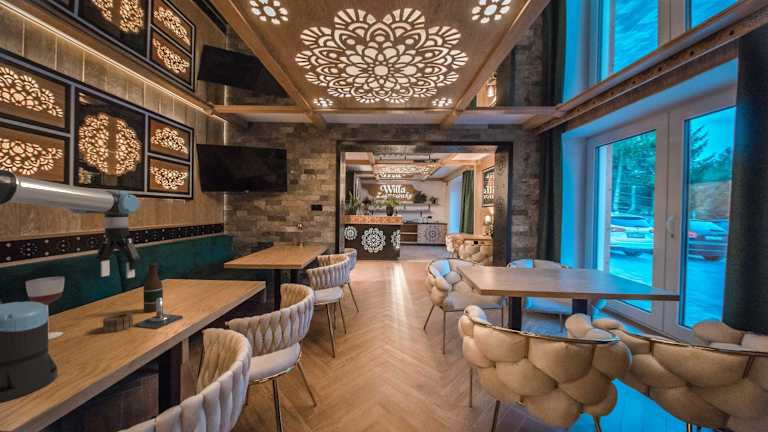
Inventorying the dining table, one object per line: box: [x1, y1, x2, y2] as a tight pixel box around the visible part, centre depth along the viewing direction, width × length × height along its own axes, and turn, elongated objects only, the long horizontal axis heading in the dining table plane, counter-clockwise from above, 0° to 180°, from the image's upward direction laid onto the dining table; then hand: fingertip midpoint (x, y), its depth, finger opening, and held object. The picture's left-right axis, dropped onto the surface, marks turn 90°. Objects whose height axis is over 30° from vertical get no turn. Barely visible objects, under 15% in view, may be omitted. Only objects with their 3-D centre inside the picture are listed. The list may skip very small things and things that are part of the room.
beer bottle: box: [143, 262, 164, 314], centre depth 143 cm, size 8×8×24 cm
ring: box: [102, 312, 134, 334], centre depth 121 cm, size 9×9×5 cm
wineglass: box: [25, 276, 66, 340], centre depth 113 cm, size 9×10×23 cm
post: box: [134, 297, 184, 330], centre depth 128 cm, size 12×12×11 cm
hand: (117, 276), depth 121 cm, fingers open, 13 cm apart
